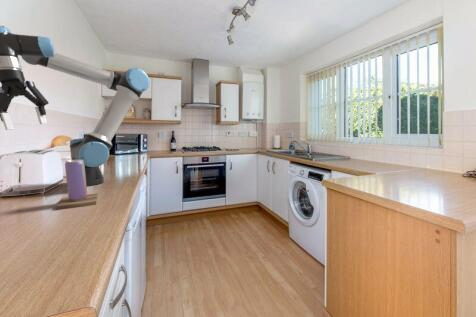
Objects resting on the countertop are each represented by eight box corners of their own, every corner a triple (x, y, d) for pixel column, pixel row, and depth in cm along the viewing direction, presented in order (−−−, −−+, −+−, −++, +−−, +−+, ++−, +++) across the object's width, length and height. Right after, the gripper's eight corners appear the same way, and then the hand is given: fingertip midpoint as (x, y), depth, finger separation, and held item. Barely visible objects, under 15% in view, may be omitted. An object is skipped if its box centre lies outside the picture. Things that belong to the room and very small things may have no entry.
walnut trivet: (62, 200, 91) (61, 197, 91) (97, 196, 97) (97, 193, 96) (55, 209, 80) (55, 206, 80) (96, 204, 86) (95, 201, 86)
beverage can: (78, 202, 85) (74, 161, 83) (64, 201, 86) (60, 161, 84) (91, 197, 91) (87, 159, 89) (78, 196, 92) (74, 159, 90)
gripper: (-35, 74, 84) (-14, 132, 87) (32, 62, 84) (50, 121, 87) (-13, 78, 91) (5, 131, 95) (49, 67, 91) (64, 121, 95)
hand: (27, 126), depth 91 cm, fingers open, 13 cm apart
